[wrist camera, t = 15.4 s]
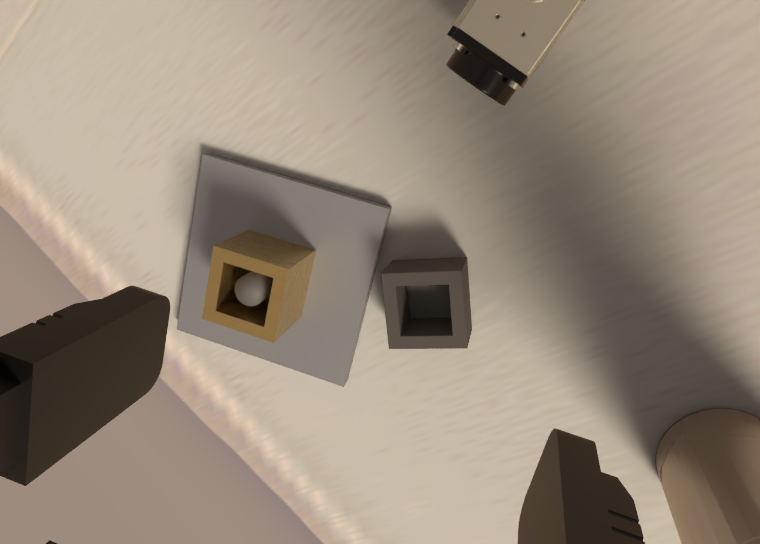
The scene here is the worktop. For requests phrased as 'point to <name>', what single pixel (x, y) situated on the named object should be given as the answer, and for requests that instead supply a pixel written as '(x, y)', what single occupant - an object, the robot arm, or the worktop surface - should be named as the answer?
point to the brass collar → (266, 258)
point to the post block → (296, 225)
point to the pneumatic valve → (506, 41)
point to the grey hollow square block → (430, 329)
